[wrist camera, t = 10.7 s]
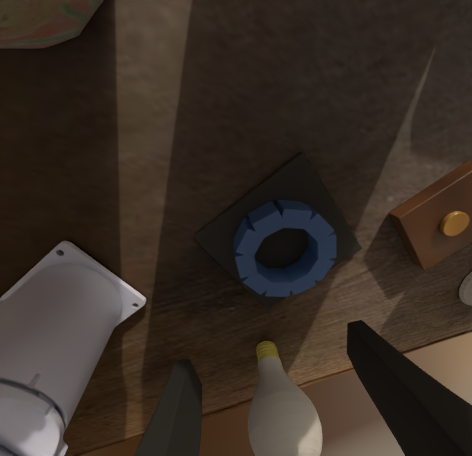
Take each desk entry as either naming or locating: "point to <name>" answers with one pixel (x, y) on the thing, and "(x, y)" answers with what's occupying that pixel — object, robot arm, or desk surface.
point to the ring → (297, 274)
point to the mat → (286, 239)
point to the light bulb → (281, 412)
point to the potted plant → (43, 21)
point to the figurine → (466, 290)
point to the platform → (437, 218)
